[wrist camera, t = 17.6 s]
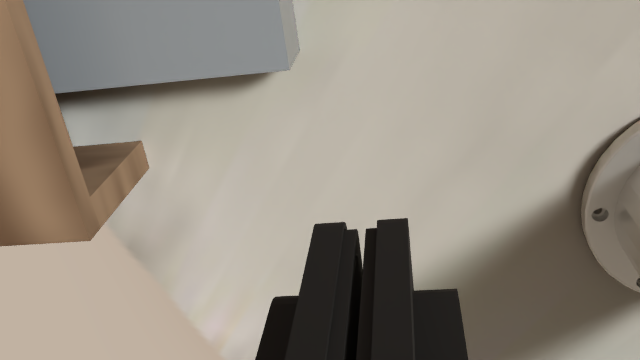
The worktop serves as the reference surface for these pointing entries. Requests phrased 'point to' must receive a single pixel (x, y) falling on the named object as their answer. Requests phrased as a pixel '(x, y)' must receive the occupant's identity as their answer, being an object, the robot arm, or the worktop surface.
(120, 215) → the worktop surface
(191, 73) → the slate slab
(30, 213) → the walnut shelf
